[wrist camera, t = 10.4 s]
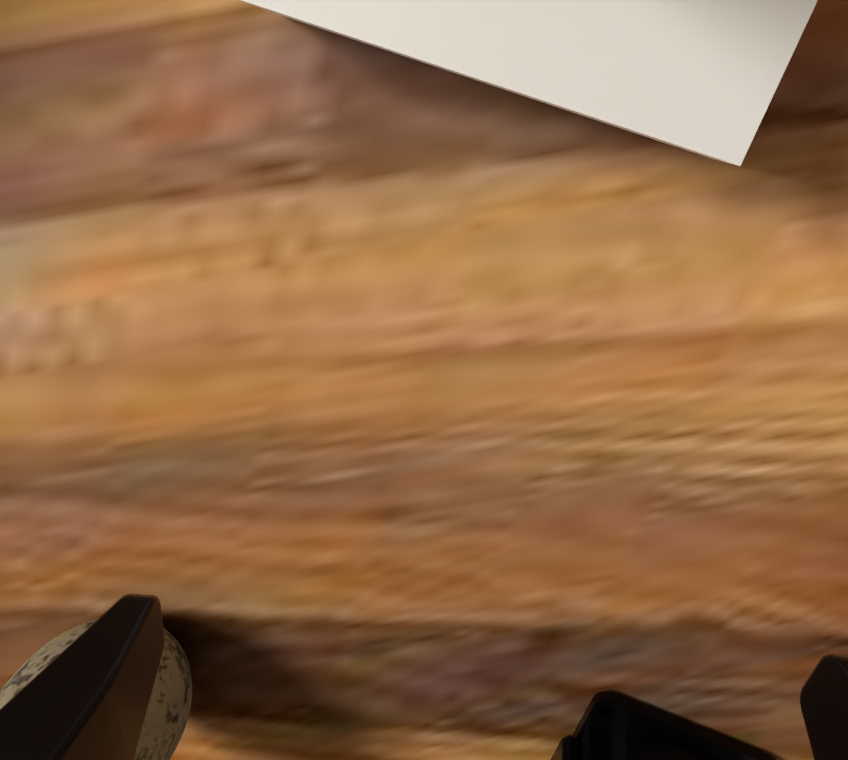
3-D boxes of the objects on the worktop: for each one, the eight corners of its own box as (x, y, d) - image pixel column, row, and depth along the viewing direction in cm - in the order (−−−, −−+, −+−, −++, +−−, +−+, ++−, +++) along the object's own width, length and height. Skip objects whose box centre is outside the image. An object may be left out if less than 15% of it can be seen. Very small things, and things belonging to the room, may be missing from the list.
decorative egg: (230, 715, 28) (61, 999, 19) (97, 690, 29) (-123, 947, 20) (219, 590, 26) (23, 841, 17) (76, 568, 27) (-180, 792, 18)
